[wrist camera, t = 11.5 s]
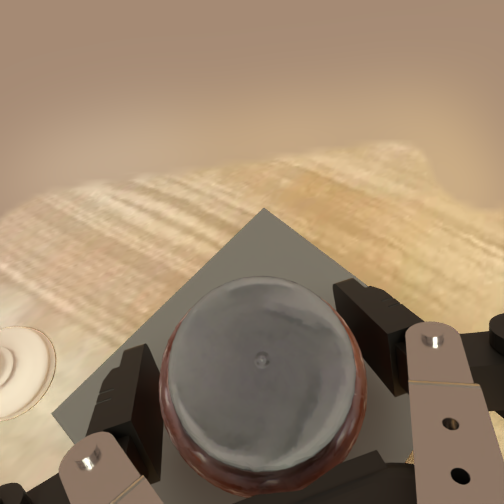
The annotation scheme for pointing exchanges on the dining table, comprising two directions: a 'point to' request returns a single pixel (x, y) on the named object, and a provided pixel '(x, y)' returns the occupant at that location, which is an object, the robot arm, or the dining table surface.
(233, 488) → the supplement bottle
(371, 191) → the dining table surface
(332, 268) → the mat
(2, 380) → the chess piece
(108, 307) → the dining table surface
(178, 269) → the dining table surface
